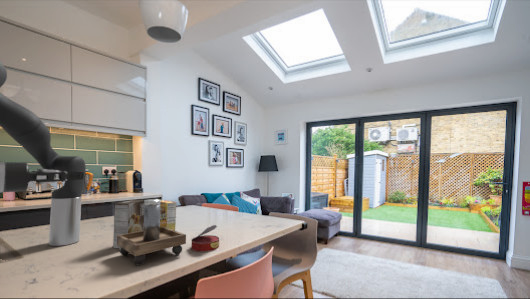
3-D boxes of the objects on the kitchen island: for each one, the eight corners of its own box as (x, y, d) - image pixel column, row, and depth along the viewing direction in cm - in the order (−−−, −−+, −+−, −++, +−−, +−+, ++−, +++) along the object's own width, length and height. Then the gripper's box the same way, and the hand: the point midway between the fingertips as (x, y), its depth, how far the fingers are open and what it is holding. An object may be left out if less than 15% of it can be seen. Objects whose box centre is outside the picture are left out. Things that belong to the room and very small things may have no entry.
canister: (140, 239, 84) (141, 200, 84) (155, 236, 87) (156, 198, 88) (146, 242, 80) (148, 201, 81) (162, 239, 84) (163, 200, 85)
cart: (116, 254, 83) (117, 235, 83) (163, 243, 95) (164, 226, 95) (134, 268, 72) (135, 245, 73) (185, 253, 84) (186, 234, 84)
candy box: (154, 239, 102) (155, 200, 103) (164, 236, 105) (165, 199, 106) (165, 243, 96) (166, 202, 97) (175, 240, 99) (176, 201, 100)
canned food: (199, 265, 86) (187, 242, 84) (194, 253, 95) (182, 231, 93) (228, 246, 91) (217, 223, 88) (221, 236, 100) (210, 215, 97)
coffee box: (130, 240, 99) (131, 199, 100) (144, 241, 98) (146, 200, 99) (112, 248, 90) (113, 203, 91) (127, 249, 89) (129, 203, 90)
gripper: (4, 162, 59) (86, 162, 71) (1, 162, 69) (74, 162, 81) (2, 195, 59) (85, 189, 71) (0, 190, 68) (74, 185, 80)
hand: (79, 175), depth 76 cm, fingers open, 8 cm apart
